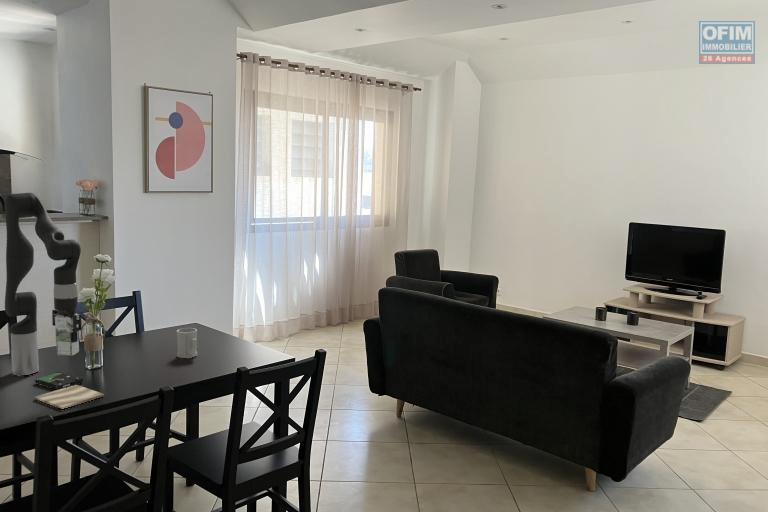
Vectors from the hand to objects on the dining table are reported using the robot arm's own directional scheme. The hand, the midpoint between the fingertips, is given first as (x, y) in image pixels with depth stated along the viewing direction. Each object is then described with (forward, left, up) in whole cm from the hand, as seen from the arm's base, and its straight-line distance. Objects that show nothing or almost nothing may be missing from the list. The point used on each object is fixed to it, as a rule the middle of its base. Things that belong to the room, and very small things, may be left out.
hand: (67, 340), depth 223 cm
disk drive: (-18, +7, -23) cm, 30 cm away
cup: (-7, +61, -22) cm, 65 cm away
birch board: (0, 0, -22) cm, 22 cm away
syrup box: (0, 0, -5) cm, 5 cm away
